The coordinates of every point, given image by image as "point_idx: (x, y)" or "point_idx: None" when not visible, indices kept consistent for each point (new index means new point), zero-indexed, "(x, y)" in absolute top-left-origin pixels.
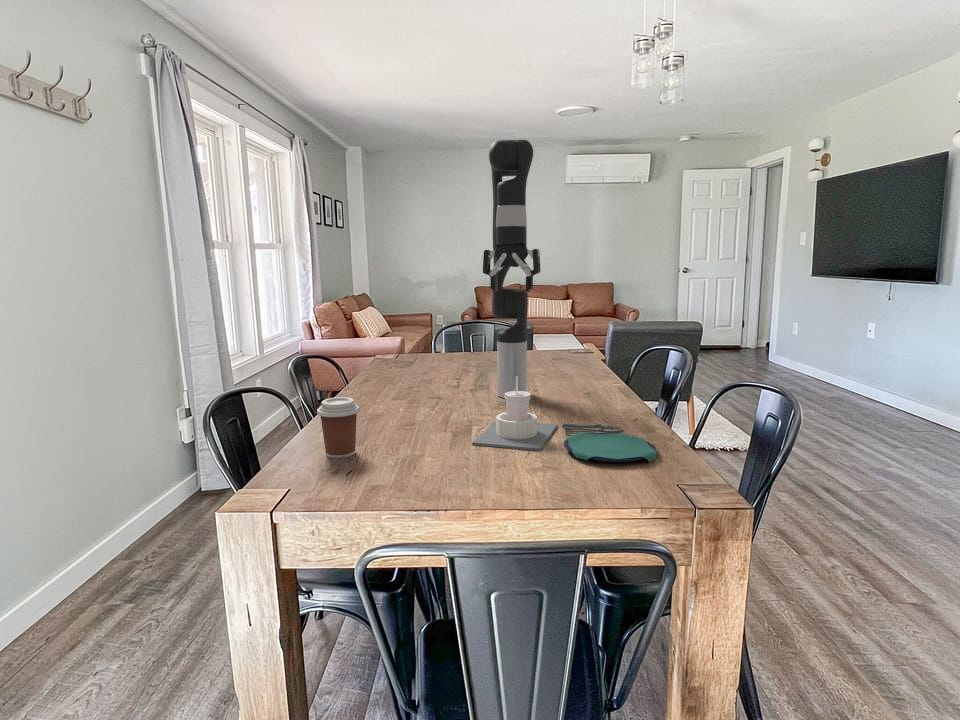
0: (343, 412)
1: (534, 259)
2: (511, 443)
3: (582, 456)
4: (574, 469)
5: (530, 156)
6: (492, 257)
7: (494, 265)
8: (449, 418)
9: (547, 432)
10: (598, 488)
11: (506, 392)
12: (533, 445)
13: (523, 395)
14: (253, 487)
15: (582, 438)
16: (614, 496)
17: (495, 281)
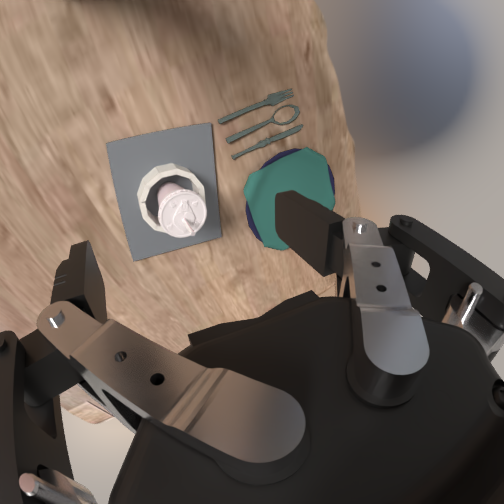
0: (59, 396)
1: (439, 321)
2: (181, 238)
3: (274, 248)
4: (266, 263)
5: None
6: (74, 484)
7: (133, 432)
8: (26, 170)
9: (209, 170)
10: (289, 287)
11: (161, 218)
12: (210, 231)
13: (196, 218)
14: (67, 409)
15: (262, 184)
16: (300, 292)
17: (104, 318)
